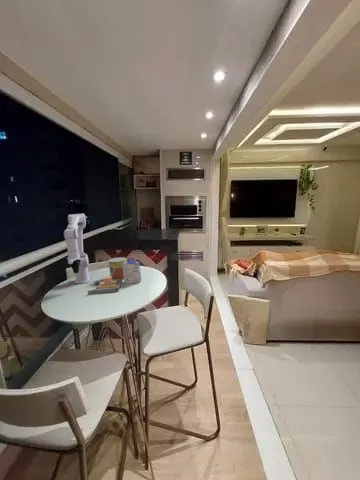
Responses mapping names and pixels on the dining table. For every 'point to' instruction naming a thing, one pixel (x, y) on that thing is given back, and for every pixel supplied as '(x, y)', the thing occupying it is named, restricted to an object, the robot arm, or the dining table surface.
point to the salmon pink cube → (108, 280)
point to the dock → (106, 288)
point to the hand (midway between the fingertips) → (76, 272)
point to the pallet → (101, 285)
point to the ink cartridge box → (131, 271)
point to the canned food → (116, 268)
